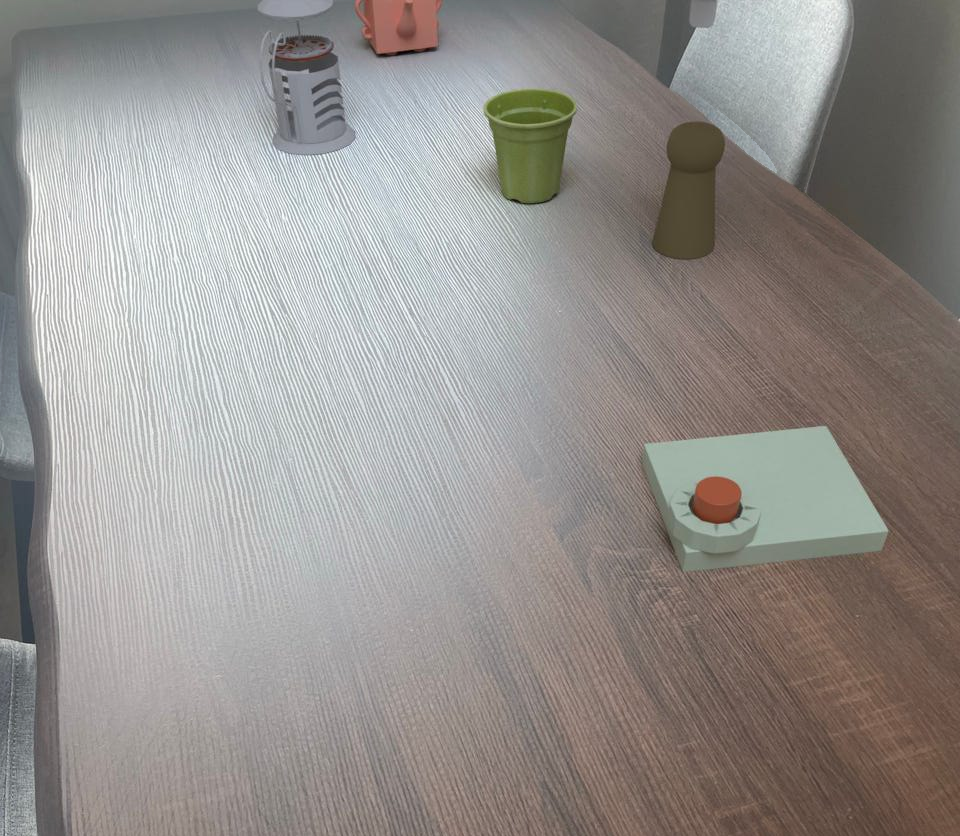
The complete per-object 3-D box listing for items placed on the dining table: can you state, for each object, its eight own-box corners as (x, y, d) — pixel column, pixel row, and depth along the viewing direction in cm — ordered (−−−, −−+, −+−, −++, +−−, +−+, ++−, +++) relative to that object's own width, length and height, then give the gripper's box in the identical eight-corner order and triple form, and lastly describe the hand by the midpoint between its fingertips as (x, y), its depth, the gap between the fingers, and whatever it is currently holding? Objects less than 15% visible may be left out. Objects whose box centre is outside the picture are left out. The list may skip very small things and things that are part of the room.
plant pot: (497, 217, 105) (496, 129, 99) (476, 179, 111) (473, 93, 105) (584, 205, 106) (589, 117, 100) (559, 168, 112) (561, 83, 106)
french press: (371, 128, 121) (345, -132, 103) (317, 167, 114) (279, -104, 96) (302, 115, 124) (265, -139, 106) (245, 152, 117) (195, -113, 99)
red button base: (820, 445, 78) (831, 407, 76) (884, 555, 70) (898, 517, 67) (635, 464, 77) (639, 426, 75) (677, 578, 69) (684, 539, 66)
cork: (639, 245, 100) (650, 128, 92) (676, 223, 103) (689, 108, 95) (690, 265, 97) (706, 146, 89) (726, 242, 100) (745, 124, 92)
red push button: (730, 494, 70) (734, 473, 69) (743, 522, 68) (747, 502, 67) (687, 498, 70) (690, 478, 68) (699, 527, 68) (702, 507, 66)
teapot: (430, 24, 145) (427, -45, 139) (458, 59, 136) (455, -13, 129) (348, 34, 143) (341, -35, 137) (370, 71, 134) (363, -2, 127)
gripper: (778, -205, 60) (740, 54, 70) (792, -259, 73) (758, -34, 83) (669, -206, 61) (647, 49, 71) (703, -259, 74) (680, -37, 84)
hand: (707, 3), depth 77 cm, fingers open, 8 cm apart
